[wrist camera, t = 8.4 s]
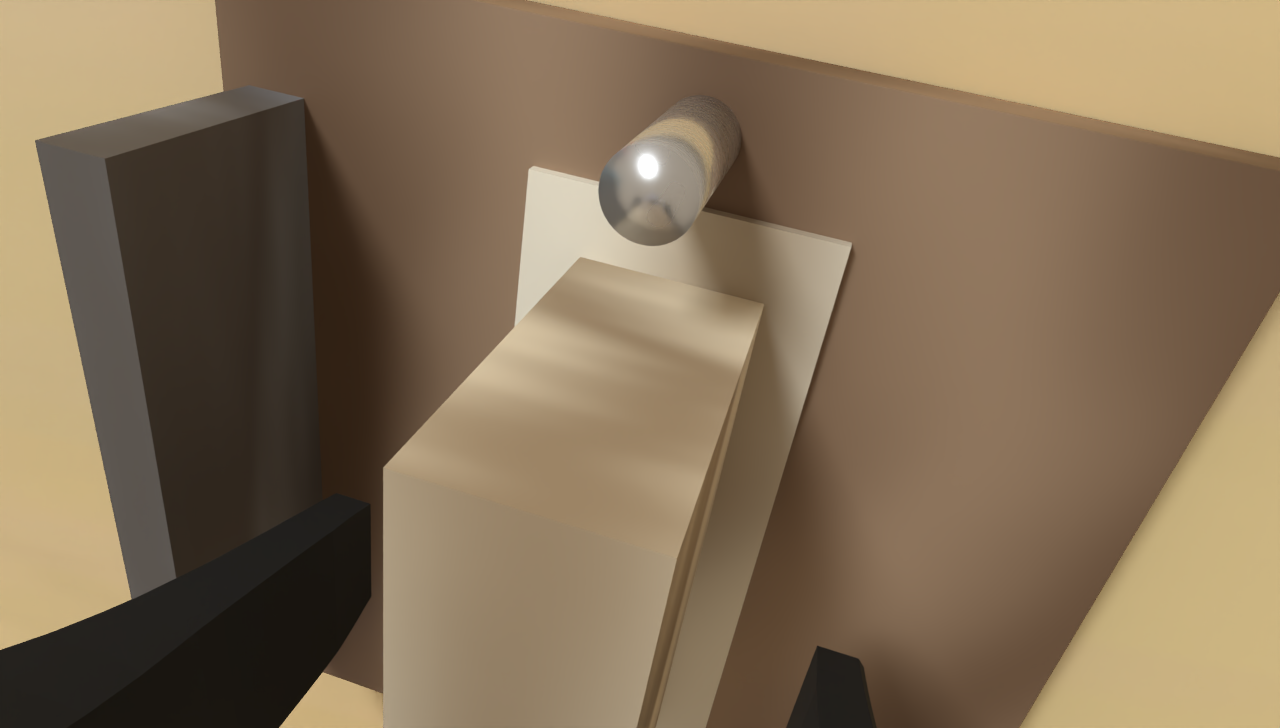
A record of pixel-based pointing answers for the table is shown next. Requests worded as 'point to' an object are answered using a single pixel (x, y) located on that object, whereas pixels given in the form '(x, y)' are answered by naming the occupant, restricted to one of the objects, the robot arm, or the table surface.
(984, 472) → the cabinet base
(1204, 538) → the table surface
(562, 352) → the beige wooden block
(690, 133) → the hinge pins
